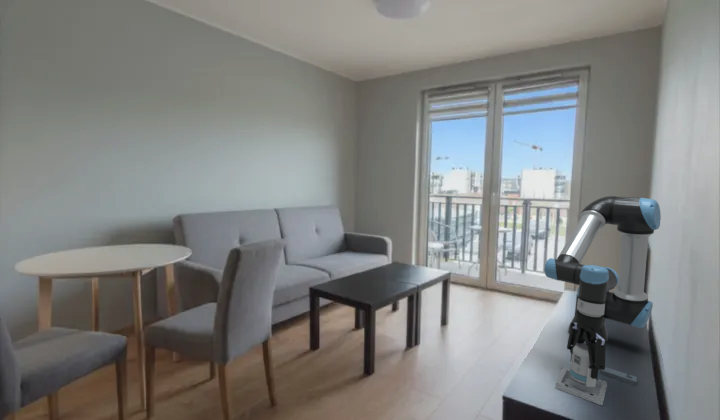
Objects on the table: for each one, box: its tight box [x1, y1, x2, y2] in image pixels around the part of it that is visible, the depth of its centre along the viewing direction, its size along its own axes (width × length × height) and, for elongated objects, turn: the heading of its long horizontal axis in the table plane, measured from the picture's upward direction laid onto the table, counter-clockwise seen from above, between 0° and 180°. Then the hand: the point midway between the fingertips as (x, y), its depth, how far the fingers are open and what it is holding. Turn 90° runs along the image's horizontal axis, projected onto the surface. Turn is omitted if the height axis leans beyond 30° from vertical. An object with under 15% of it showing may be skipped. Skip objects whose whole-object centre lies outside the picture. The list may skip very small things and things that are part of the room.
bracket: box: [599, 366, 638, 386], centre depth 126 cm, size 4×10×2 cm, turn 51°
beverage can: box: [570, 342, 595, 385], centre depth 117 cm, size 7×7×12 cm
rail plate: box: [554, 367, 608, 406], centre depth 118 cm, size 13×13×2 cm
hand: (582, 379), depth 118 cm, fingers closed on beverage can, 7 cm apart
